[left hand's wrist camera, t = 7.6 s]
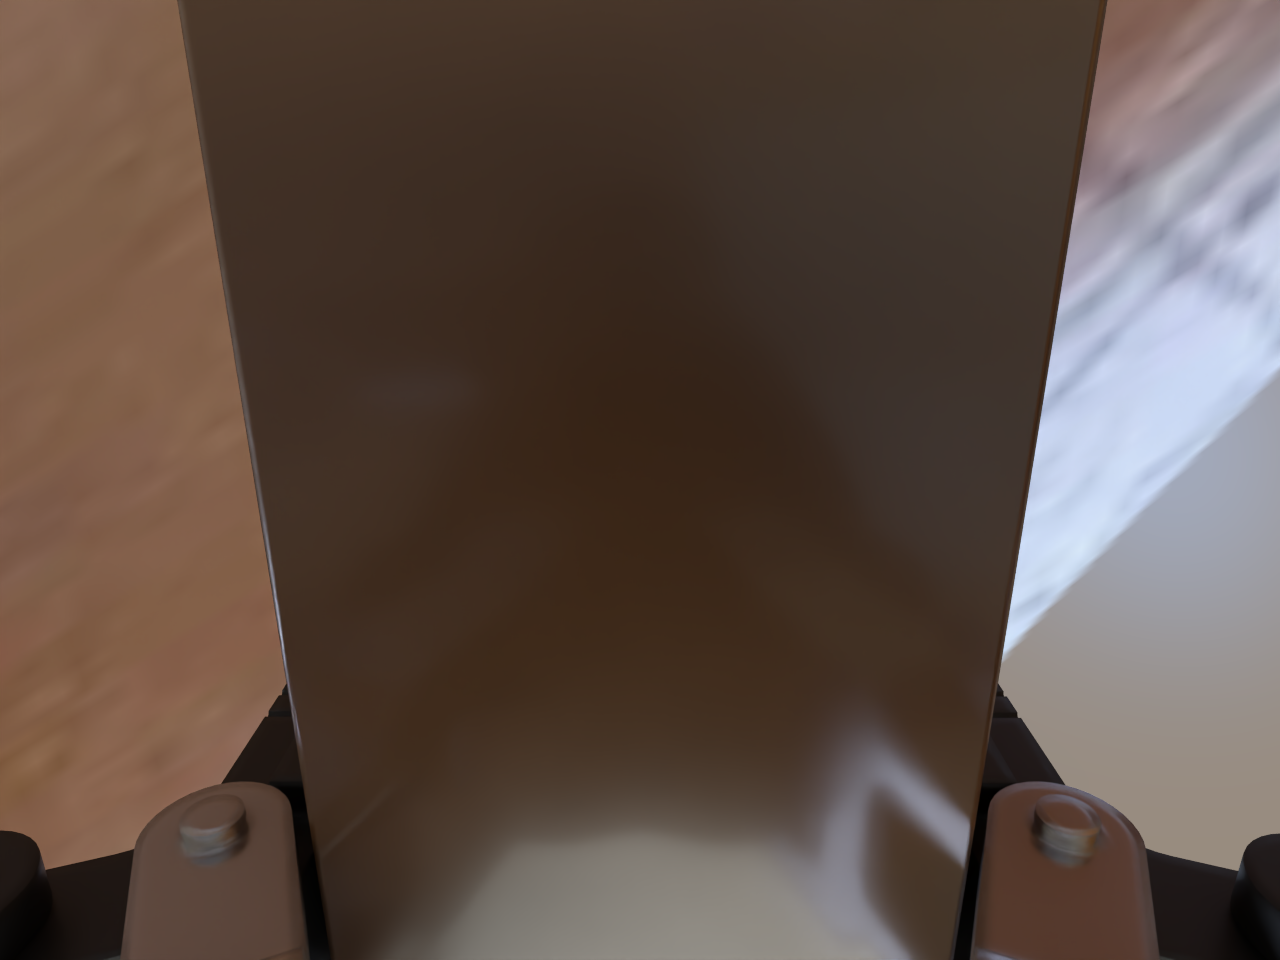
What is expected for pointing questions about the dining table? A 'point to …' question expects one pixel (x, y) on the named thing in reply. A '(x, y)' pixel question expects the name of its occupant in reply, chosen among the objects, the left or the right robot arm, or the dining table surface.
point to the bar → (642, 448)
